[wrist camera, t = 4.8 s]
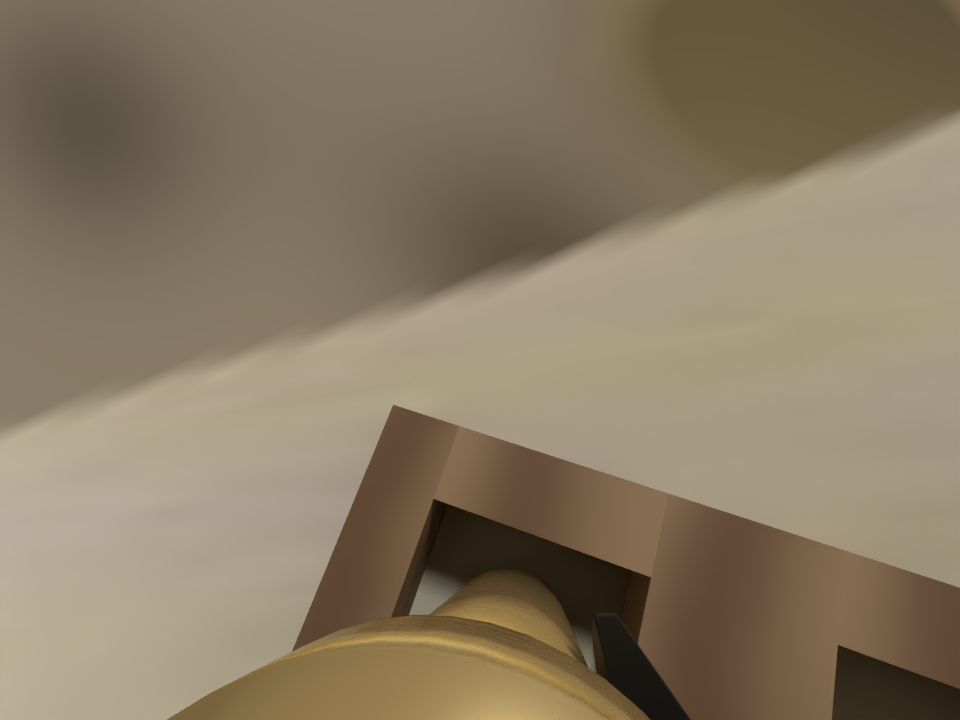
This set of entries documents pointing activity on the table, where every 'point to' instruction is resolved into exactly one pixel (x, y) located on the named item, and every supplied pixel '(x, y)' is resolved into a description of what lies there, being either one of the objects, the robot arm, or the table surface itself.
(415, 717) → the brass bolt
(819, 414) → the table surface
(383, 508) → the template plate
